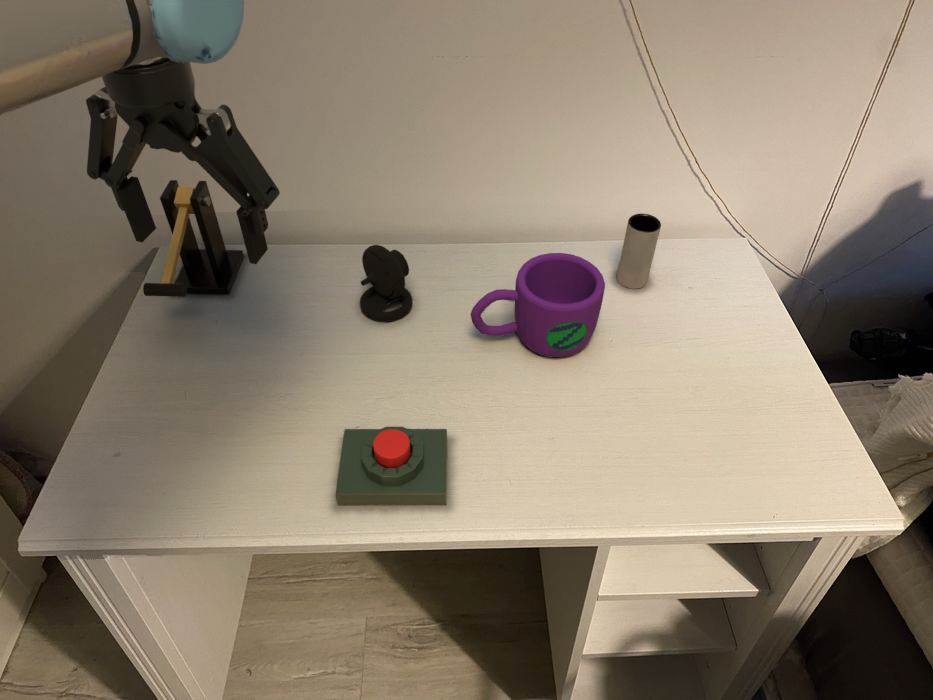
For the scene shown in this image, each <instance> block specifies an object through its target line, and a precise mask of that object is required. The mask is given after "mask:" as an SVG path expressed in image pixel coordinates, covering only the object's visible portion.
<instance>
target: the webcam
mask: <svg viewBox="0 0 933 700" xmlns="http://www.w3.org/2000/svg"><path fill="white" fill-rule="evenodd" d="M361 263H362V267H363V271H364V274H365V275H366V277H365V278H363V279H361V280H360V285H361V286H362V287H364V286H366V285H369V284H370V285H371V286H370V287H368V288H367V289H366V290H365V291H364V292H363V293H362V294H361V296H360V299H359V300H360V301H359V306H360V310H361V313H362V314H364V315H365V316H366V317H367V318H369V319H371V320H373V321H376V322H380V323H381V322H382V323H383V322H384V323H385V322H386V323H387V322H394V321H398V320H401V319H402V318H404V317H406V315H407V314H409V312H410V311H411V309H412V307H413V296H412V294H411V292H410V291H409V290H408V289H407V288H406V279H405V278H406V277H407V276H409V274H410V267H409V264H408V261H407V259H406V257H405V256H404V255H403V254H402V252H400V251H399V250H398V249H392V250H389V249H387V248H386V247H385V246H383V245H381V244H380V245H379V244H372V245H369V246H367V248H366V249H365V250H364V251H363V253H362V256H361ZM397 300H402V303H401V305H399V307H397V308H395V309H392V310H387V311H386V310H385V311H384V309H385V308H386V307H387V306H388V305H390V304H391V303H393V302H395V301H397Z"/></svg>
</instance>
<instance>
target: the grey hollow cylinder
mask: <svg viewBox="0 0 933 700" xmlns="http://www.w3.org/2000/svg"><path fill="white" fill-rule="evenodd" d="M626 224H627V225H626V230H625V234H624V239H623V244H622V249H621V254H620V259H619V262H618V269H617V272H616V281H617V282H618V283H619V284H620V285H621V286H622V287H624V288H627V289H633V290H636V289H641V288H644V287H645V286H646V285H647V284H648V280H649V276H650V272H651V269H652V265H653V260H654V257H655V252H656V248H657V245H658V240H659V237H660V232H661V228H662V223H661V220H659V218H657V217H656V216H654V215H653V214H648V213H635V214H633V215H631V216H630V217H629V218H628V220H627V223H626Z"/></svg>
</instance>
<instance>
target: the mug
mask: <svg viewBox="0 0 933 700" xmlns="http://www.w3.org/2000/svg"><path fill="white" fill-rule="evenodd" d="M605 289H606V282H605V279H604V276H603V274H602V273H601V271H600V270H599V268H598V267H597V266H595V264H594V263H592V262H591V261H589V260H587V259H585V258H583V257H581V256H577V255H575V254H571V253H564V252H548V253H544V254H539V255H536V256H534V257H532V258H530V259H529V260H527V261H525V262H524V263H523V264H522V265H521V266H520V268H519V270H518V272H517V274H516V278H515V287H514V289H505V288H503V289H502V288H501V289H495V290H492V291H490V292H487V293H486V294H484V296H482V297H481V298H480V299H479V300H478V301H477V302H476V303H475V304H474V305H473V307H472V309H471V312H470V319H471V323H472V324H473V326H474V328H475V329H476V330H477V331H478V332H479V333H480V334H481V335H486V336H490V337H498V336H499V337H500V336H505V335H509V334H513V333H514V332H516V334H517V335H518V337H519V339H520V341H521V343H523V345H524V346H525V347H527V349H529V350H531V351H532V352H534V353H535V354H538V355H541V356H543V357H548V358H549V357H550V358H565V357H570V356H573V355H576V354H577V353H580V352H581V351H582V350H583V349H584V348H585V347H587V346H588V345H589V343H590V341H591V339H592V337H593V335H594V333H595V331H596V328H597V326H598V325H597V324H598V322H599V317H600V313H601V310H602V305H603V300H604V295H605ZM497 301H510V302H511V301H512V302H514V320H512V321H510V322H508V323H505V324H499V325H489V324H487V323H485V321H484V319H483V318H482V314H483V313H484V312H485V311H486V309H487V308H488V307H489V306H490V305H491V304H493V303H495V302H497Z"/></svg>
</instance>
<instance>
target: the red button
mask: <svg viewBox="0 0 933 700" xmlns="http://www.w3.org/2000/svg"><path fill="white" fill-rule="evenodd" d="M373 447H374V454H375V458H376V460H377V462H378V463H379V464H381V465H382V466H385V467H391V468H392V467H398V466H401V465H402V464H404V463H405V462H406V461H407V460H408V459H409V457H410V441H409V438H408V436H407V435H406V434H405V433H404V432H402V431H400V430H396V429H389V430H385V431H383V432H381V433H380V434H378V435H377V436H376V438H375V440H374V443H373Z"/></svg>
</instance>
